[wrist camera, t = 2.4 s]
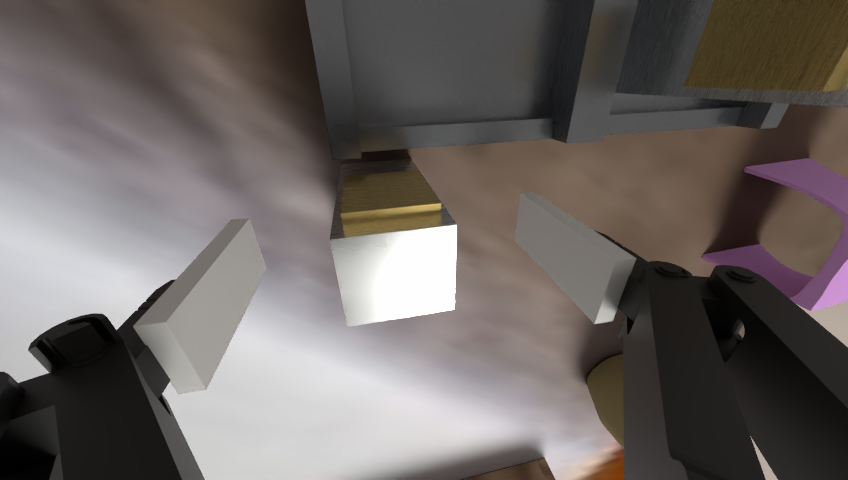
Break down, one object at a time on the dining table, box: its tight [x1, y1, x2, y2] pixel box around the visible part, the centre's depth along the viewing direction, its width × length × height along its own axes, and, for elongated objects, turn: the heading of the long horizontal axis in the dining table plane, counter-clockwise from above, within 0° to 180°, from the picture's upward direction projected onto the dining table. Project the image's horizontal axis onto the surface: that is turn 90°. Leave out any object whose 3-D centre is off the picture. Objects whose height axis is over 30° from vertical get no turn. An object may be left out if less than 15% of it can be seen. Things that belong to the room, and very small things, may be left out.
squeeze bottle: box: [586, 354, 624, 449], centre depth 25 cm, size 8×8×18 cm
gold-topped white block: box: [330, 159, 457, 327], centre depth 15 cm, size 8×4×9 cm, turn 1°
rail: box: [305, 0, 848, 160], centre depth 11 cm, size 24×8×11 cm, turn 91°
